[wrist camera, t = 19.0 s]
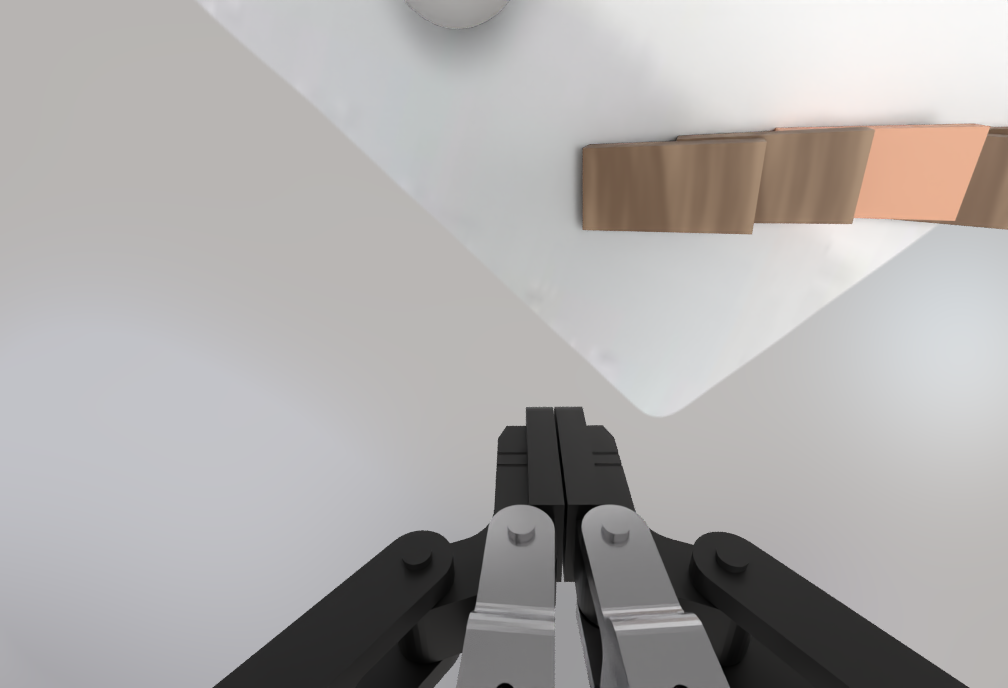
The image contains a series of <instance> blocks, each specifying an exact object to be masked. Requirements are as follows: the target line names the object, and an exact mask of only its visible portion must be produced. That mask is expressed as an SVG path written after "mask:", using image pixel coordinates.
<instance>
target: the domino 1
mask: <svg viewBox="0 0 1008 688" xmlns="http://www.w3.org/2000/svg"><path fill="white" fill-rule="evenodd" d="M766 144H767V141H766V140H765V138H746V139H719V140H692V141H665V142H639V143H612V144H590V145H588V146H586V147H584V148H583V230H603V231H643V232H682V233H721V234H752V231H753V225H754V218H755V212H756V206H757V200H758V193H759V187H760V181H761V175H762V169H763V162H764V156H765V150H766Z"/></svg>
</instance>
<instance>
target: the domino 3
mask: <svg viewBox="0 0 1008 688" xmlns="http://www.w3.org/2000/svg"><path fill="white" fill-rule="evenodd" d="M846 127H868V128H871V129H874V130H875V133H874V137H873V141H872V145H871V149H870V153H869V157H868V161H867V165H866V169H865V173H864V177H863V182H862V186H861V190H860V194H859V198H858V202H857V206H856V210H855V214H854V218H875V219H909V220H943V221H955V220H956V217H957V214H958V212H959V209H960V206H961V204H962V201H963V198H964V196H965V193H966V190H967V188H968V185H969V182H970V180H971V177H972V174H973V172H974V169H975V166H976V164H977V161H978V158H979V156H980V153H981V150H982V148H983V145H984V142H985V140H986V137H987V134H988V132H989V129H990V126H985V125H979V124H934V125H887V126H841V127H795V128H775V131H785V130H805V129H826V128H846Z"/></svg>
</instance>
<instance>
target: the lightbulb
mask: <svg viewBox="0 0 1008 688" xmlns="http://www.w3.org/2000/svg"><path fill="white" fill-rule="evenodd" d="M404 1H405V2H406V3H407V4H408V5H409V7H410V8H411V9H413V10H414V11H415V12H416V13H418V14H419V15H420V16H421V17H423V18H424V19H426V20H428V21H430V22H431V23H433V24H435V25H438V26H442V27H446V28H449V29H465V28H470V27H475V26H478V25H480V24H482V23H484V22H486V21H488V20H490V19H491V18H492V17H494V16H495V15H496V14H498V13H499V12H500V11H501V10H502V9H503V8H504V6H505V5H506V4H507V3H508V2H509V1H510V0H404Z"/></svg>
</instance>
